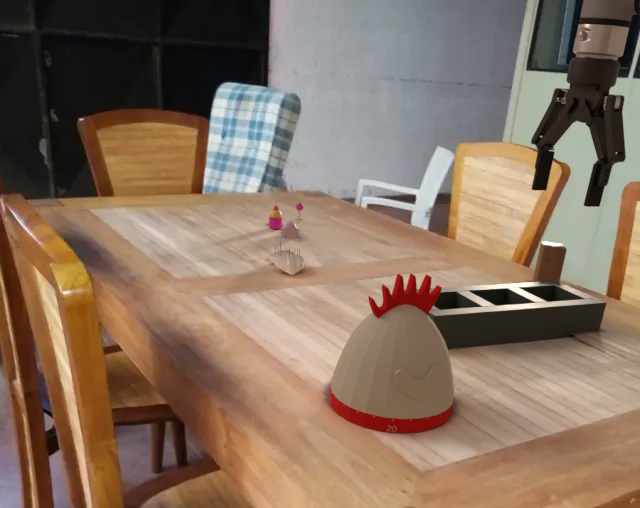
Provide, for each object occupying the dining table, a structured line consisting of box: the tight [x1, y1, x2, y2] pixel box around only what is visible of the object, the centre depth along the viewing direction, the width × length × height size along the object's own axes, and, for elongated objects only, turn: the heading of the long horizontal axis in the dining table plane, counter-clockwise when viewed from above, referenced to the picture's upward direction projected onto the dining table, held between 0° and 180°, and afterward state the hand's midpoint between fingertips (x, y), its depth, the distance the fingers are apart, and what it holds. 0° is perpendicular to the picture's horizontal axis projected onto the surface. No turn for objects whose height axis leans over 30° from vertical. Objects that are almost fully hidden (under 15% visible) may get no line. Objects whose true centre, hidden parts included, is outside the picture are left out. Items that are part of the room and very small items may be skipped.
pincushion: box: [268, 237, 305, 276], centre depth 126 cm, size 12×6×6 cm, turn 11°
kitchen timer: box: [328, 273, 455, 434], centre depth 77 cm, size 14×14×15 cm
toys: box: [268, 199, 304, 240], centre depth 154 cm, size 18×8×6 cm, turn 6°
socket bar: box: [404, 281, 608, 350], centre depth 105 cm, size 11×30×5 cm, turn 113°
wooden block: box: [531, 241, 567, 282], centre depth 125 cm, size 4×4×8 cm
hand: (563, 197), depth 121 cm, fingers open, 13 cm apart
